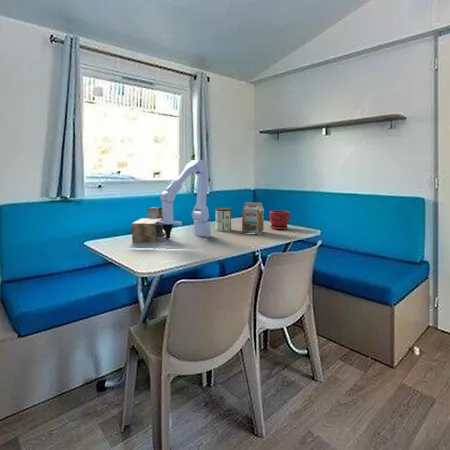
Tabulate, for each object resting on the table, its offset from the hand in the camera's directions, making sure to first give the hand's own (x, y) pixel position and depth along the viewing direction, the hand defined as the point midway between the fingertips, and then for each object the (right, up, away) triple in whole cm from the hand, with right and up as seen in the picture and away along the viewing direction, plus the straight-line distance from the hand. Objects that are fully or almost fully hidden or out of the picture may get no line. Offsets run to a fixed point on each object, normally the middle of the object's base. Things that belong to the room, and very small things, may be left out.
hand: (168, 238), depth 187 cm
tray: (-7, -1, +1) cm, 7 cm away
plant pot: (+67, +4, +41) cm, 79 cm away
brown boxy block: (-11, -1, +1) cm, 11 cm away
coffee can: (+30, +4, +35) cm, 46 cm away
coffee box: (-11, +1, +20) cm, 23 cm away
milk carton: (+49, +2, +26) cm, 55 cm away
